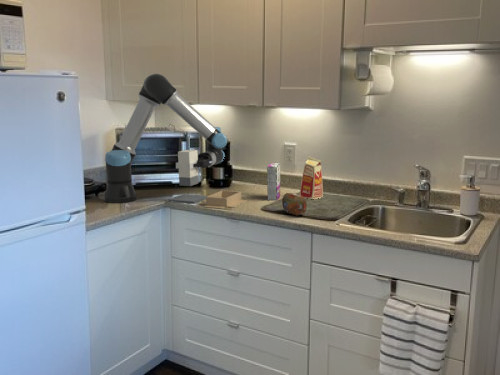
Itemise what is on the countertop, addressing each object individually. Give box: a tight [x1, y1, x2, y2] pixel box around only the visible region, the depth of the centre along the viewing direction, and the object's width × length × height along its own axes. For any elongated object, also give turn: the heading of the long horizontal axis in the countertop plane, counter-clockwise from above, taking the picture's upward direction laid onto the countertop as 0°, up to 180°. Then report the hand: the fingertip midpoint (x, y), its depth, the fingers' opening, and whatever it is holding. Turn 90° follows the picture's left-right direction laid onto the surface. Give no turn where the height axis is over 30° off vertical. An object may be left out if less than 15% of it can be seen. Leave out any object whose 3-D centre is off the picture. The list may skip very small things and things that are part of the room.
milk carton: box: [298, 156, 324, 200], centre depth 249 cm, size 9×9×20 cm
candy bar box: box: [266, 162, 281, 201], centre depth 249 cm, size 11×5×16 cm, turn 168°
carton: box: [200, 190, 248, 210], centre depth 240 cm, size 17×23×4 cm
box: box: [177, 149, 200, 187], centre depth 245 cm, size 6×8×16 cm
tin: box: [281, 192, 307, 216], centre depth 218 cm, size 15×3×8 cm, turn 29°
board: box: [168, 193, 208, 205], centre depth 248 cm, size 14×14×1 cm
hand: (182, 166), depth 240 cm, fingers closed on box, 6 cm apart
